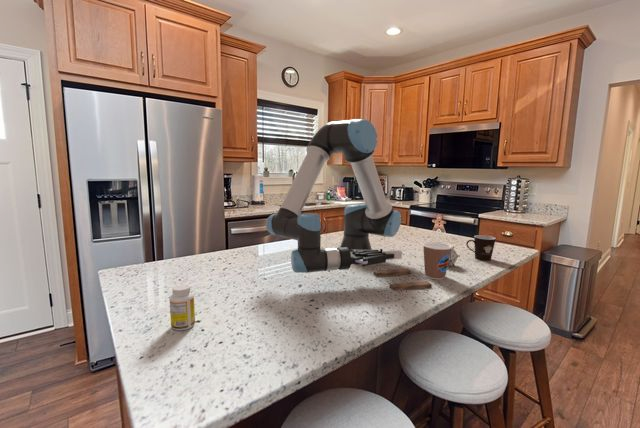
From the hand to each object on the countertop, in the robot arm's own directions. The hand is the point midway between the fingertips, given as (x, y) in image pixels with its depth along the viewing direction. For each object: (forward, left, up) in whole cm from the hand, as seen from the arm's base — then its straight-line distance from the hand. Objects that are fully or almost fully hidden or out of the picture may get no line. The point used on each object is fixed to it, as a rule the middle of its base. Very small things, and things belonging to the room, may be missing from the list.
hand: (400, 254), depth 114 cm
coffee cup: (+13, +9, -10) cm, 19 cm away
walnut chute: (0, +1, -10) cm, 10 cm away
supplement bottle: (-51, -51, -10) cm, 73 cm away
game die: (+18, +26, -10) cm, 33 cm away
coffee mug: (+33, +42, -10) cm, 54 cm away
